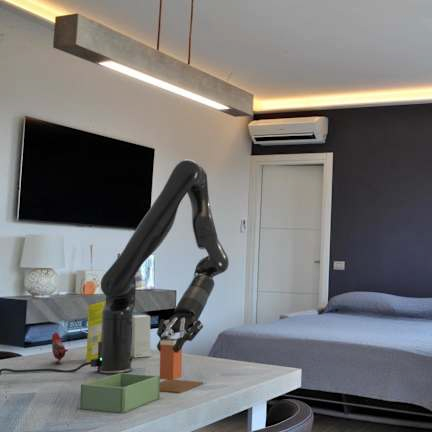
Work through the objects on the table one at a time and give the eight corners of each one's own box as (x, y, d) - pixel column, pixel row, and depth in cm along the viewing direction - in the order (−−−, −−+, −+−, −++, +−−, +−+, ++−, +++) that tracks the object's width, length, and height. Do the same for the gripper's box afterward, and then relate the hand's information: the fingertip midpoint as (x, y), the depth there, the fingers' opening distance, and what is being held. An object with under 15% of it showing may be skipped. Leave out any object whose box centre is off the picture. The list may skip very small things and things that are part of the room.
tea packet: (159, 378, 170) (160, 340, 171) (167, 375, 174) (168, 338, 175) (173, 380, 169) (174, 341, 170) (181, 376, 173) (182, 339, 174)
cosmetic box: (150, 356, 218) (151, 316, 219) (133, 358, 215) (134, 317, 215) (145, 353, 225) (146, 313, 226) (128, 354, 222) (130, 314, 222)
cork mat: (142, 389, 169) (142, 388, 169) (168, 380, 181) (168, 379, 181) (179, 393, 166) (179, 391, 166) (203, 383, 178) (203, 382, 178)
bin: (79, 408, 149) (80, 384, 150) (119, 394, 164) (120, 372, 164) (122, 412, 146) (123, 388, 146) (159, 398, 160) (160, 375, 161)
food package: (102, 355, 219) (104, 301, 220) (105, 355, 219) (107, 301, 220) (84, 363, 204) (87, 305, 205) (88, 363, 204) (90, 305, 205)
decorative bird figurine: (57, 359, 210) (58, 331, 210) (71, 368, 197) (72, 337, 197) (48, 360, 208) (49, 332, 208) (62, 369, 195) (63, 338, 195)
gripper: (217, 312, 183) (194, 359, 171) (176, 311, 187) (151, 356, 175) (208, 297, 178) (183, 343, 166) (166, 295, 182) (139, 341, 170)
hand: (167, 350), depth 170 cm, fingers closed on tea packet, 4 cm apart
